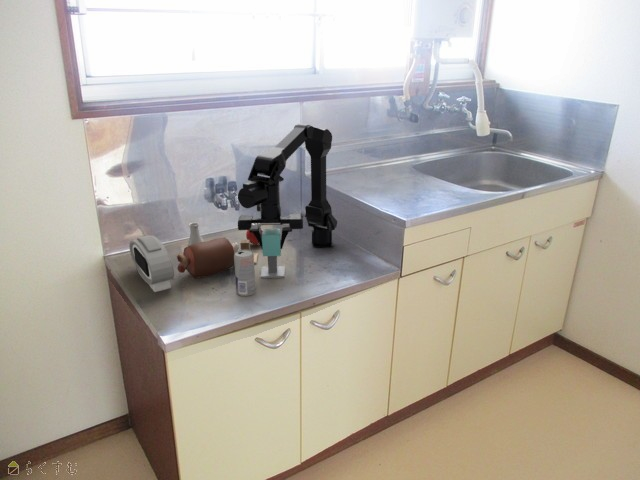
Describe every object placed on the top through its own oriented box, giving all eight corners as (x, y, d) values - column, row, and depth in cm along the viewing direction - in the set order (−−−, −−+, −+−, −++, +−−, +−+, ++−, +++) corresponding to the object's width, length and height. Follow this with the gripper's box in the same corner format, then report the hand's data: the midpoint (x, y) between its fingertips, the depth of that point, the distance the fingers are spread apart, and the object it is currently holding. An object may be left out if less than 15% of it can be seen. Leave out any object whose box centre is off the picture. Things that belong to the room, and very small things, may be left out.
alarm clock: (132, 267, 162) (126, 229, 157) (152, 263, 165) (146, 225, 161) (155, 297, 144) (149, 255, 139) (176, 291, 147) (171, 250, 143)
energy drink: (246, 285, 151) (244, 247, 146) (259, 291, 147) (257, 252, 143) (232, 292, 147) (229, 253, 142) (245, 298, 144) (243, 258, 139)
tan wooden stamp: (257, 255, 171) (256, 237, 168) (256, 264, 164) (255, 245, 162) (236, 255, 170) (235, 237, 168) (234, 264, 164) (232, 245, 162)
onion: (244, 243, 180) (243, 221, 177) (260, 240, 182) (259, 219, 179) (249, 249, 175) (248, 227, 172) (266, 246, 177) (265, 224, 174)
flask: (202, 257, 169) (199, 228, 166) (181, 255, 171) (178, 227, 167) (211, 248, 176) (208, 221, 172) (191, 247, 177) (188, 219, 173)
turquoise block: (281, 248, 158) (280, 228, 156) (280, 255, 154) (279, 235, 151) (263, 249, 158) (262, 228, 156) (262, 256, 153) (261, 235, 151)
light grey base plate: (284, 267, 162) (284, 248, 159) (284, 277, 155) (283, 258, 153) (262, 268, 162) (261, 249, 159) (260, 278, 155) (259, 258, 153)
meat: (230, 259, 169) (228, 229, 165) (248, 271, 160) (247, 240, 156) (171, 275, 157) (167, 243, 153) (187, 289, 149) (184, 256, 145)
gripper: (302, 190, 157) (303, 238, 163) (239, 191, 157) (243, 239, 163) (302, 201, 147) (303, 252, 153) (235, 202, 146) (239, 253, 152)
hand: (272, 248), depth 155 cm, fingers closed on turquoise block, 5 cm apart
